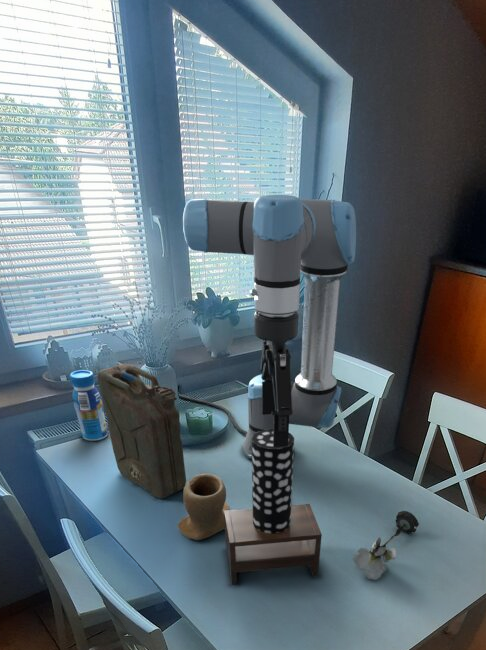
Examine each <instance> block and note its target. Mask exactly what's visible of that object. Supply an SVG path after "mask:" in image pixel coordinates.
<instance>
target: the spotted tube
mask: <svg viewBox="0 0 486 650" xmlns="http://www.w3.org/2000/svg"><path fill="white" fill-rule="evenodd" d="M294 453H295V437H294V435H293V434H292V433H290V432H289V436H288V446H282V447H274V446H273V429H266V430H261V431H258V432H257V433H255V434H254V435H253V436H252V460H251V478H252V479H251V481H252V482H251V484H252V485H251V487H252V489H251V490H252V491H251V493H252V508H253V525H254V527H255V528H256V529H258V530H259V531H262V532H265V533H279V532H282V531H284V530H286V529H287V528H288V527H289V526H290V519H291V505H292V497H293V496H292V495H293V476H294V455H295V454H294Z"/></svg>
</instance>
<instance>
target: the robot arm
mask: <svg viewBox="0 0 486 650" xmlns="http://www.w3.org/2000/svg"><path fill="white" fill-rule="evenodd" d="M182 215H183V216H182V227H183V234H184V240H185V243H186V245H187V246H188V247H189V249H191V250H192V251H196V252H203V253H212V254H213V253H215V254H216V253H217V254H231V255H232V254H234V255H247V256H253V282H254V288H253V289H251V290H250V296H251V297H254V299H253V301H254V303H253V306H254V309H255V310H256V311H255V312H254V313H253V319H254V320H253V332H254V335H255V337H256V338H258V339H260V340H262V344H261V345H262V346H261V356H260V357H261V358H260V367H259V372H260V374H258V375H255V376H254V377H253V378H252V379H250V381H249V383H248V389H247V390H248V391H247V393H248V394H247V405H248V406H247V409H248V429H247V431H246V430H244V429H242V428H241V427H240V426H239V425H238V424H237V423H236V420H235V419H234V417H233V416H232V414H231V412H230V410H229V409H227V408H226V407H223V406H222V405H220V404H217V403H214V402H211V401H207V400H203V399H198V398H194V397H190V396H188V395H183V394H180V393H179V396H178V397H179V398H180V399H184V400H187V401H191V402H195V403H199V404H205V405H208V406H212V407H214V408H217V409H220V410H221V411H223V412H225V414H227V416H228V418H229V420H230V422H231V423H232V425H233V426H234V428H235V429H236V430H237V431H238V432H240V433H242V434H244V435H245V438H244V441H243V445H242V450H243V455H244V456H245V457H246V458H248V459H249V460H251V461H252V436H253V435H254V434H255V433H257V432H258V431H261V430H266V429H273V446H274V447H282V446H288V436H289V433H290V432H289V431H290V425H295V426H304V427H310V428H315V429H318V428H322V429H328V428H329V429H330V428H331V427H332V426H333V424H334V420H335V418H336V414H337V410H338V406H339V402H340V398H341V393H342V387H341V386H339V385H337V384H338V382H337V381H338V380H337V377H336V376H335V375H334V374H333V366H334V353H335V343H336V342H335V341H336V330H337V319H338V308H339V295H340V286H341V285H340V284H341V279H342V278H343V276H344V275H345V274H347V272H348V266H349V265H351V264H353V263H354V262H355V259H356V248H357V219H356V211H355V208H354V207H353V205H352V204H351V203H350V202H347V201H341V200H336V199H312V198H302V199H301V198H300V197H297V196H295V195H288V194H267V195H260V196H258V197H257V198H256V199H255V200H254V201H238V200H228V199H227V200H224V199H209V198H208V199H207V198H193V199H189V200H188V201H187V202H186V203H185V206H184V210H183V214H182ZM301 274H302V276H303V277H304V294H303V314H302V315H303V316H302V317H303V318H302V337H301V338H302V340H301V360H300V361H301V363H300V364H301V365H300V366H301V367H300V373H298V375H296V376H295V378H294V381H291V379H292V378H291V358H292V355H291V354H290V353H289V349H288V348H287V344H286V343H287V342H288V341H291V340H294V339H296V338H297V336H298V333H299V315H300V314H299V313H298V310H299V309H300V299H301Z"/></svg>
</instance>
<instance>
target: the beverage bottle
mask: <svg viewBox="0 0 486 650" xmlns="http://www.w3.org/2000/svg"><path fill="white" fill-rule="evenodd" d="M69 380H70V383H71V386H72V387H73V391H72V395H71V397H72V401H74V402H73V407H74V410H75V413H76V417H77V420H78V421H77V422H78V423H79V424H78V425H79V428H80V433H81V437H82V438H83V439H84V440H86V441H90V442H91V441H92V442H95V441H100V440H104V439H105V438H107V436H108V434H109V429H108V425H107V421H106V418H105V413H104V412H105V411H104V406H103V400H102V398H101V392H99V391H100V390H98V388H97V387H96V386H95V382H96V381H95V376H94V374H93V371H91V370H87V369H78V370H74V371H72V372H71V373H70V374H69Z"/></svg>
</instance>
